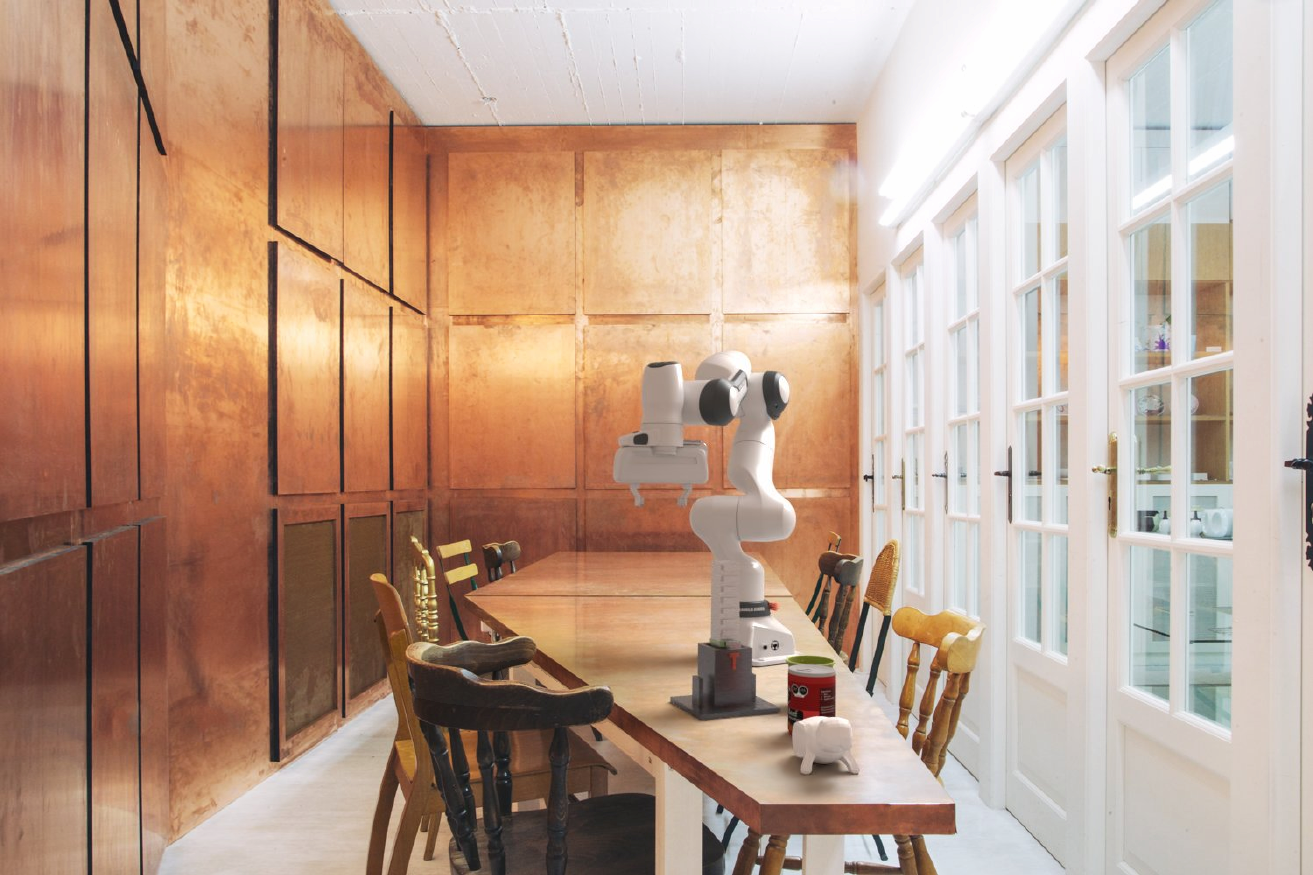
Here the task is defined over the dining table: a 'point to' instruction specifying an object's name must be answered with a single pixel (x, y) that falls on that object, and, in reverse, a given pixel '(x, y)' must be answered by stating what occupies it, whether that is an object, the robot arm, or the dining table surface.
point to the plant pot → (810, 660)
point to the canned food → (810, 692)
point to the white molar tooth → (824, 742)
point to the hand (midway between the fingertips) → (661, 505)
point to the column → (724, 602)
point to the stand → (724, 685)
